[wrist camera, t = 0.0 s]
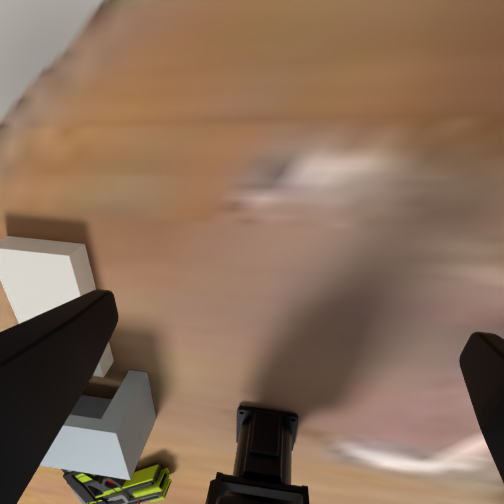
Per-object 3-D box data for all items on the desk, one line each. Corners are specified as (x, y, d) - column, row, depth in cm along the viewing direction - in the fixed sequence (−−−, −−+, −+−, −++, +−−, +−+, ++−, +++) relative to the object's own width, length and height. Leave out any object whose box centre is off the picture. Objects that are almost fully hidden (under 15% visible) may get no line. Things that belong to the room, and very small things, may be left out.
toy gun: (77, 433, 34) (170, 506, 38) (101, 401, 38) (183, 470, 41) (10, 467, 43) (90, 524, 46) (34, 438, 47) (107, 493, 50)
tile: (116, 357, 33) (103, 377, 30) (54, 349, 33) (38, 368, 31) (88, 241, 26) (69, 255, 24) (11, 233, 26) (-14, 247, 24)
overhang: (156, 418, 36) (130, 480, 30) (46, 402, 37) (2, 459, 32) (147, 372, 32) (116, 433, 27) (25, 356, 33) (-30, 411, 28)
